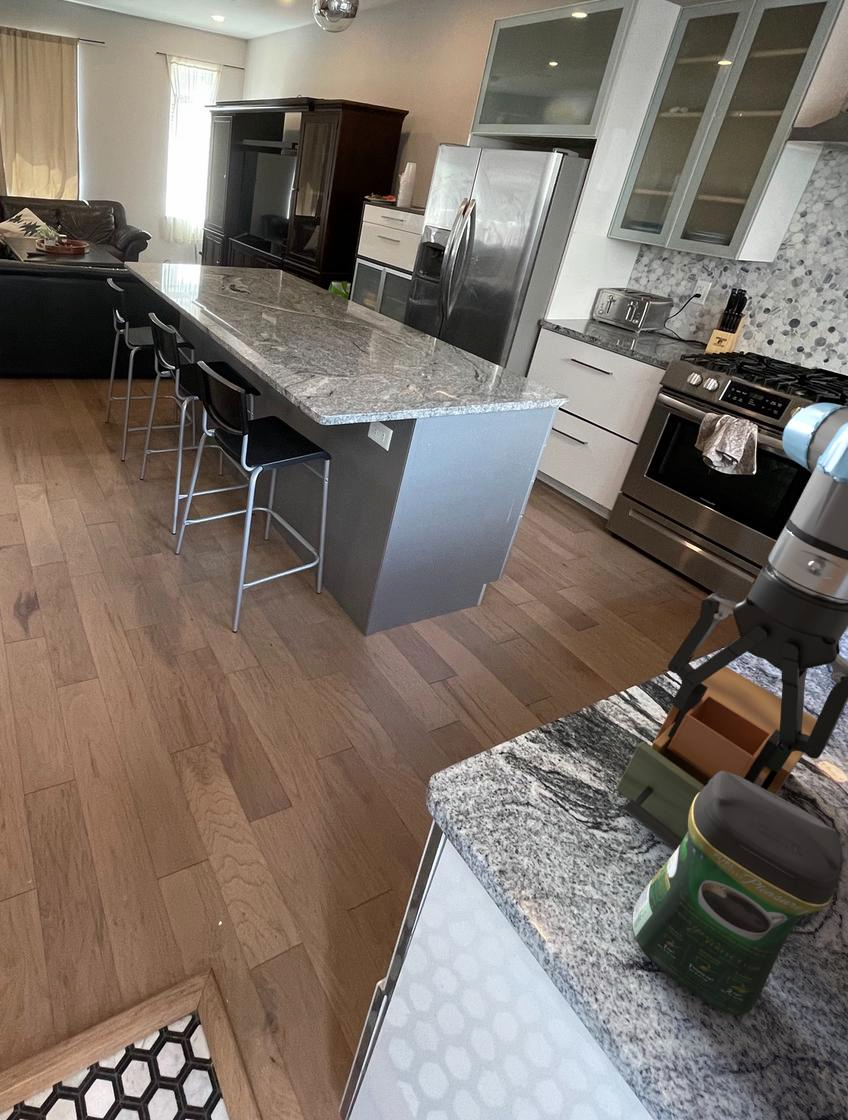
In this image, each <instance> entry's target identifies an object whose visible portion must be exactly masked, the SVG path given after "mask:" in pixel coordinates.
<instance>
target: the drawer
mask: <svg viewBox="0 0 848 1120" xmlns="http://www.w3.org/2000/svg"><path fill="white" fill-rule="evenodd" d="M673 725H674V723H673V724H672V725H671V726H670V727H669V728H668V729H667V730H666V731H665V732H664V733H663V734H662V735H661V736H660V737H659V738H658V739H657V740H656V741H655V742H654V741H653V742H654V743H653V742H652V744H653V745H652V744H651V746H652V747H651V746H649V745H648V744H647V743H646V742H645V741H641V742H640V743H639V744H638V745H637V747H636V749H635V751H634V753H633V754H632V756H631V758H630V760H629V762H628V764H627V766H626V768H625V770H624V773H623V774H622V776H621V778H620V780H619V782H618V784H617V786H616V788H615V790H616V791H617V792H619V793H620V794H621V795H622V796H623V797H625V798H626V799H627V800H628V801H627V802H626V804H625V806H624V808H623V810H624V811H625V812H626V813H627V814H628V815H630V816H631V817H632V818H634V819H635V820H636V821H637V822H638V823H640V824H641V825H642V826H643V827H645V828H646V829H647V830H649V831H650V832H651V833H652V834H653V835H654V836H656V838H658V839H659V840H661V841H662V842H663V843H665V844H666V845H667V846H668V847H669V848H670V849H672V851H674V852H675V851H676V850H677V848H678V847H679V845H680V844H681V842H682V841H683V839H684V837H685V835H686V834H687V832H688V817H689V811H690V808H691V805H692V803H693V800H694V799H695V797H696V795H697V794H698V793H699V792H701V790H702V789H703V788H704V787H705V786H706V785H707V784H708V782H709V780H710V779H711V778H710V777H708V776H707V775H705V774H704V773H703V772H701V771H700V770H698V769H697V768H695V767H694V766H693V765H691V764H690V763H688V762H687V761H686V760H684V759H683V758H681V757H680V756H678V755H677V754H676V753H674V752H673V751H671V750H670V749H668V747H669V745H670V743H671V741H672V739H671V738H670V737H669V736H668V734H669V732H670V731H671V729H672V727H673ZM771 771H772V769H770V768H768V767H767V766H765V767H764V768H763V770H762V772H761V773H760V775H759V776H758V778H757V780H756V781H755V782H754V784H755V785H757V786H759V787H762V785H763V784H764V782H765V781H766V779H767V778H768V776H769V774H770V773H771Z"/></svg>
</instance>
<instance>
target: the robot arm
mask: <svg viewBox="0 0 848 1120" xmlns="http://www.w3.org/2000/svg"><path fill="white" fill-rule="evenodd" d="M781 439H782V447H783V450H784V452H785V454H786V456H787V457H788V458H790V459H791V460H792V461H794V462H795V463H797V464H799V465H800V466H802V467H803V468H805V469H806V470H807V471H809V472H810V473H811V476H810V478H809V480H808V481H807V483H806V486H805V487H804V489H803V492H802V493H801V496H800V498H799V499H798V502H797V503H796V506H795V507H794V510H793V511H792V513H791V515H790V517H789V519H788V521H787V522H786V524H785V525H784V527H783V529H782V530H781V532H780V534H779V537H778V539H777V540H776V541H775V544H774V545H773V548H772V549H771V551H770V553H769V554H768V557H767V558H768V559H767V560H768V562H769V563H767V564H765V565H763V566H762V568H761V570H760V571H759V574H758V575H757V577H756V579H755V581H754V583H753V585H752V586H751V589H750V590H749V592H748V594H747V595H746V597H745V598H744V599H742V600H740V601H739V602H736V601H732V600H729V599H726V598H724V597H723V596H722V595H721V593H718V592H713V593H711V594H710V595H708V596H707V597H706V598H704V599H703V600H701V605H700V611H699V612H700V613H699V618H698V620H697V621H696V622H695V623H694V625H693V627H692V628H691V630H690V631H689V633H688V634H687V636H686V637H685V639H683V642H682V643H681V645H680V646H679V648H678V649H677V651H676V652H675V653H674V655H673V656H672V658H671V659H670V660H669V663H667V669H668V670H669V672H670V673H673V674H676V675H677V676H678V677H679V679H680V681H681V684H680V685H679V688H678V690H677V692H676V693H675V696H674V697H673V699H672V706H675V707H676V708H678V709H679V710H681V712H680V714H679V716H678V717H677V719H676V721H675V723H674V725H673V727H672V729H671V731H670V732H669V734H668V736H669V737H670V738H671V739H673V737H674V735H675V734H676V732H677V730H678V728H679V726H680V724H681V722H682V721H683V719H684V717H685V715H686V714H687V713H688V712H689V711H690V710H691V709H692V708H693V707H694V706H695V705H696V704H697V703H698V702H699V701H700V700H701V699H702V698H703V696H704V694H705V692H706V690H707V689H708V687H707V686H705V685H703V684H702V682H703V681H704V680H706V679H707V678H709V677H710V676H712V675H713V674H715V673H716V672H717V671H719V670H720V669H722V668H723V667H725V666H726V667H727V665H729V664H731V663H732V662H733V661H735V660H736V659H738V658H740V657H741V656H743V655H744V654H746V653H748V654H751V655H752V656H754V657H756V658H759V659H763V660H765V661H766V662H768V663H769V664H770V665H771V666H772V667H774V668H775V669H777V670H779V671H781V676H780V677H781V678H780V681H781V683H782V684H781V685H782V686H781V699H782V700H781V716H780V731H779V730H777V729H776V730H775V731H774V733H773V734H772V735H771V736H770V738H769V739H768V740H767V742H766V744H765V745H764V747H763V749H762V750H761V752H760V754H759V756H758V757H757V759H756V761H755V762H754V764H753V765H752V767H751V769H750V770H749V772H748V773H747V775H746V777H745V778H744V779H746V780H748V781H750V782H751V783H753V784H754V782H755V781H756V780H757V778H758V776H759V775H760V773H761V772H762V770H763V768H764V767H765V766H767V767H768V768H770V769H772V770H773V771H775V772H777V771H779V770H780V769H781V768H782V767H783V765H784V764H785V762H786V761H787V759H788V758H789V756H790V754H791V753H792V752H793V751H800V752H803V753H804V754H805V755H806V756H807V757H809V758H811V759H815V760H816V759H819V758H820V757H821V755H822V753H823V752H824V751H825V749H826V747H827V745H828V743H829V741H830V740H831V737H832V735H833V734H834V731H835V729H836V727H837V725H838V722H839V721H840V718H841V716H842V715H843V712H844V709H845V708H846V705H847V704H848V660H847V658H845V657H843V656H842V655H841V654H840V652H841V651H840V650H841V649H840V641H841V639H842V637H843V635H844V633H845V632H846V631H847V629H848V406H847V405H840V404H836V403H831V402H819V403H814V404H811V405H809V406H806V407H804V408H803V409H800V410H799V411H798V412H796V414H795V415H793V416H792V417H791V418H790V420H789V421H788V422H787V424H786V426H785V427H784V430H783V433H782V438H781ZM729 615H733V618H734V622H735V624H736V627H737V628H736V629H737V630H738V635H739V637H737V638H736V639H735V640H733V641H732V642H731V643H729V644H728V645H726V646H725V647H724V648H722V649H721V650H720V651H718V652H717V653H715V654H714V655H713V656H711V657H710V658H708V659H707V660H706V661H704V662H702V663H701V664H700V665H699V666H697V667H696V668H694V667H693V666H692V665H691V664H690V663H691V661H692V659H694V657H695V655H696V654H697V652H698V651H699V650H700V648H701V647H702V645H703V644H704V642H705V641H706V639H707V638H708V636H709V635H710V634H711V632H712V631H713V630H714V628H715V627H716V625H717V624H718V623H719V621H723V620H725V619H726V618H727V617H729ZM825 665H828V666H830V667H831V669H832V672H831V673H830V679H831V680H832V681H833V683H835V684H834V685H833V687H832V688H831V690H830V692H829V693H828V695H827V697H826V699H825V702H824V704H823V706H822V708H821V711H820V713H819V715H818V717H817V718H816V719H817V721H816V723H815V726H814V728H813V730H812V732H811V734H810V736H809V735H806V734H803V733H802V721H803V711H804V706H805V705H804V703H805V688H806V677H807V675H808V669H813V668H817V667H820V666H825Z"/></svg>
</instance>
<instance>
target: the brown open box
mask: <svg viewBox="0 0 848 1120" xmlns="http://www.w3.org/2000/svg"><path fill="white" fill-rule="evenodd" d="M771 735H772V734H770V732H768V731H766V730H765V729H763V728H761V727H760V726H758V725H757V724H755V723H753V722H752V721H750V720H749V719H747V718H745V717H744V716H742V715H740V714H739V713H737V712H736V711H734V710H732V709H731V708H729V707H728V706H726V705H724V704H723V703H721V702H720V701H718V700H716V699H715V698H713V697H711V696H710V695H708V694H706V695H705V696H704V697H703V698H702V699H701V700H700V701H699V702H698V703H697V704H696V705H695V706H694V707H693V708H692V709H691V710H690V711H689V712H688V713H687V714H686V715H685V717H684V719H683V721H682V722H681V724H680V726H679V728H678V730H677V732H676V734H675V735H674V737H673V739H672V741H671V743H670V745H669V747H668V749H670V750H671V751H673V752H674V753H676V754H677V755H678V756H680V757H681V758H683V759H684V760H686V761H687V762H688V763H690V764H691V765H693V766H694V767H695V768H697V769H698V770H700V771H701V772H703V773H704V774H705V775H707V776H708V777H710V778H711V779H712V778H713V777H714V775H716V774H717V773H718V772H720V771H726V772H728V773H732V774H734V775H737V776H739V777H742V778H745V777H746V775H747V773H748V772H749V770H750V769H751V767H752V765H753V764H754V762H755V761H756V759H757V757H758V756H759V754H760V752H761V750H762V749H763V747H764V745H765V744H766V742H767V740H768V739H769V738H770V736H771Z"/></svg>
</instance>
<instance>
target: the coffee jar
mask: <svg viewBox="0 0 848 1120" xmlns="http://www.w3.org/2000/svg"><path fill="white" fill-rule="evenodd" d="M843 860H844V855H843V847H842V841H841V838H840V835H839V833H838V832H837V831H836V830H835V829H834V828H832V827H829V826H828V825H827V824H826V823H825V822H823V821H821V820H820V819H818V818H817V817H815V816H814V815H812V814H810V813H809V812H807V811H806V810H804V809H802V808H800V807H798V806H797V805H795V804H793V803H791V802H790V801H787V800H785V799H784V798H782V797H780V796H778V795H775V794H773V793H771V792H769V791H767V790H765V789H763V788H761V787H759V786H757V785H755V784H753V783H751V782H750V781H748V780H746V779H744V778H742V777H739V776H737V775H734V774H732V773H728V772H726V771H720V772H718V773H717V774H716V775H714V777H713V778H712V779H710V780H709V782H708V784H707V785H706V786H705V787H704V788H703V789H702V790H701V792H699V793H698V794H697V795H696V797H695V799H694V800H693V803H692V805H691V808H690V811H689V817H688V832H687V834H686V835H685V837H684V839H683V841H682V842H681V844H680V845H679V847H678V848H677V850H676V851H674V852H673V853H672V855H671V856H670V857H669V858H668V860H667V861H666V862H665V863H664V864H663V866H661V868H660V870H658V872H657V873H656V874H655V875H654V876H653V877H652V878H651V880H650V881H649V882H648V884H647V885H646V886H645V887H644V889H643V891H642V892H641V894H640V896H639V897H638V899H637V901H636V903H635V905H634V908H633V913H632V921H631V922H632V924H631V925H632V932H633V936H634V938H635V941H636V943H637V944H638V947H639V949H640V950H641V951H642V952H643V954H644V955H645V956H646V957H647V958H648V959H649V960H650V961H651V962H652V963H653V964H654V965H655V966H656V967H657V968H658V969H660V970H661V971H662V972H663V973H665V974H666V975H667V976H668V977H670V978H671V979H672V980H674V981H675V982H676V983H678V984H679V985H681V986H682V987H683V988H684V989H686V990H687V991H689V992H690V993H692V994H693V995H694V996H696V997H697V998H699V999H700V1000H701V1001H704V1002H705V1003H707V1004H708V1005H710V1006H712V1007H713V1008H715V1009H717V1010H719V1011H721V1012H723V1013H724V1014H728V1015H731V1016H743V1015H747V1014H748V1013H749V1012H751V1011H752V1009H753V1008H754V1006H755V1005H756V1003H757V1002H758V1000H759V998H760V996H761V994H762V992H763V990H764V989H765V986H766V984H767V982H768V979H769V976H770V975H771V972H772V970H773V967H774V966H775V963H776V960H777V958H778V957H779V954H780V952H781V950H782V948H783V946H784V945H785V943H786V941H787V939H788V937H789V935H790V934H791V932H792V931H793V929H794V928H795V927H796V925H797V924H798V923H799V922H800V920H801V919H802V918H804V917H805V916H808V915H810V914H813V913H816V912H819V911H821V910H823V909H825V908H826V907H827V906H828V905H829V903H830V902H831V901H832V898H833V895H834V892H835V890H836V886H838V883H839V880H840V877H841V873H842V869H843V863H844V861H843Z"/></svg>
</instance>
